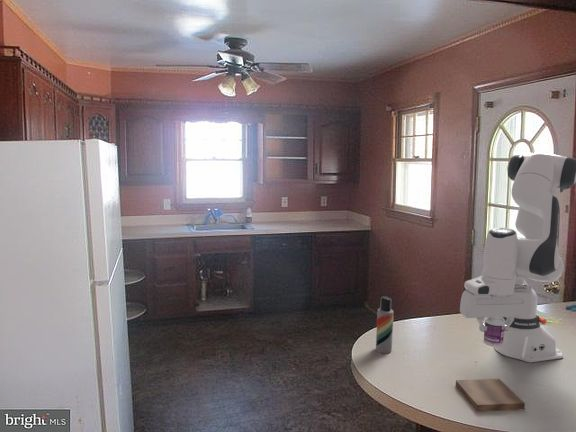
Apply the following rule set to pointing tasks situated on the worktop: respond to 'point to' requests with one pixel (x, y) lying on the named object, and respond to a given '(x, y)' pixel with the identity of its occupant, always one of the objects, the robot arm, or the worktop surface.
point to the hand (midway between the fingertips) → (494, 330)
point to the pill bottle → (494, 331)
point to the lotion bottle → (384, 326)
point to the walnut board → (489, 395)
